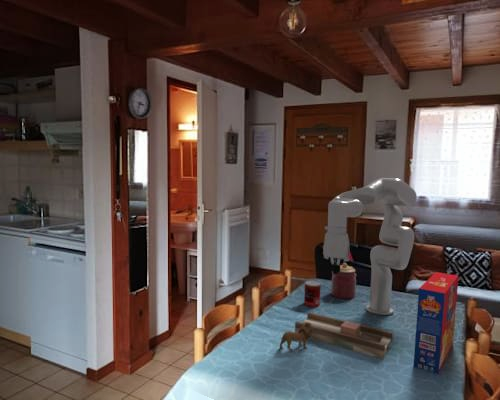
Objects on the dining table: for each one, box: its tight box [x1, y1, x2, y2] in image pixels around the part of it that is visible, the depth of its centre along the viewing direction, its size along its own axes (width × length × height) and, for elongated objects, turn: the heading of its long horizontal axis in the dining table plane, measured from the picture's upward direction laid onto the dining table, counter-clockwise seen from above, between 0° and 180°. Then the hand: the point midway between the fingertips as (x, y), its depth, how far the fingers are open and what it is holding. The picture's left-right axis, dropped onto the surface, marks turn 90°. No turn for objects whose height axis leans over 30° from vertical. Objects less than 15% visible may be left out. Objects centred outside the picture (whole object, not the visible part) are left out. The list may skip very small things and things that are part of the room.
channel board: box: [294, 311, 393, 360], centre depth 155 cm, size 14×35×5 cm, turn 58°
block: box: [340, 320, 362, 337], centre depth 153 cm, size 6×6×4 cm
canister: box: [330, 262, 358, 300], centre depth 210 cm, size 13×13×18 cm
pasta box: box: [413, 271, 459, 375], centre depth 143 cm, size 28×8×28 cm, turn 144°
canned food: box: [303, 280, 322, 308], centre depth 194 cm, size 8×8×11 cm
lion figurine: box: [278, 322, 313, 352], centre depth 146 cm, size 15×5×9 cm, turn 119°
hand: (336, 273), depth 164 cm, fingers closed
